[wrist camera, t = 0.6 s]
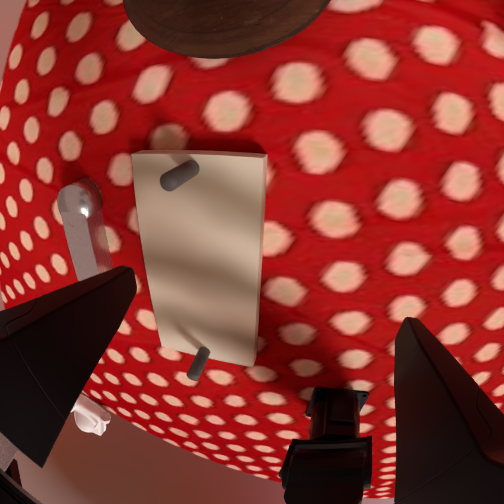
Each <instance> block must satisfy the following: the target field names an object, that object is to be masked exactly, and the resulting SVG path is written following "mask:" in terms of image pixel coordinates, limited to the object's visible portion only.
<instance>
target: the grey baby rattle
mask: <svg viewBox="0 0 504 504" xmlns="http://www.w3.org/2000/svg"><path fill="white" fill-rule="evenodd" d="M57 203H58V209H59V212H60V214H61V216H62V221H63V225H64V229H65V234H66V238H67V242H68V246H69V250H70V253H71V257H72V261H73V264H74V268H75V271H76V275H77V278H78V281H81V280H84V279H87V278H89V277H92V276H94V275H97V274H100V273H103V272H105V271H108V270H111V269H113V265H112V260H111V256H110V251H109V246H108V241H107V236H106V231H105V225H104V220H103V214H102V196H101V193H100V191H99V189H98V187H97V186H96V185H95V184H94V183H93V182H92V181H90V180H88V179H80V180H78V181H76V182H74V183H72V184H70V185H68V186H66V187H64V188H62V189H61V190H60V192H59V194H58V199H57Z"/></svg>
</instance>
